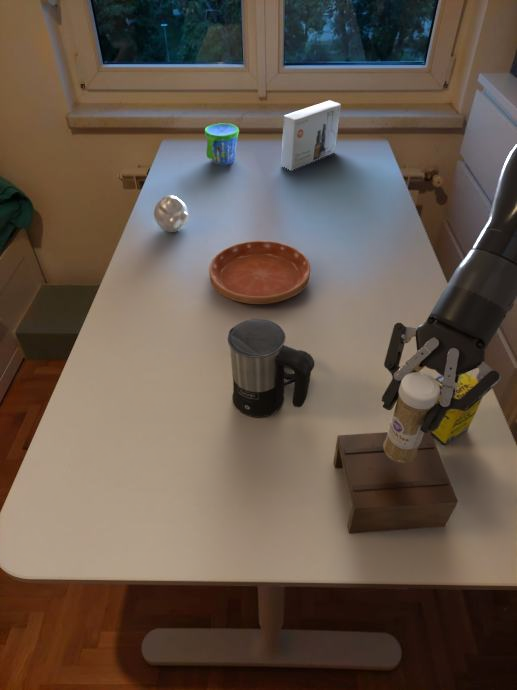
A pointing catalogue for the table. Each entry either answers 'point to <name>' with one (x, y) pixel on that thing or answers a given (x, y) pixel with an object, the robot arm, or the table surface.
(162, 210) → the shiny silver ball
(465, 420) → the supplement box
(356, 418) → the table surface
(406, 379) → the sprinkles bottle
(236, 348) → the milk frother
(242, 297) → the saucer
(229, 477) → the table surface
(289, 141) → the skincare box
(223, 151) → the snack cup
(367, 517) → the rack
